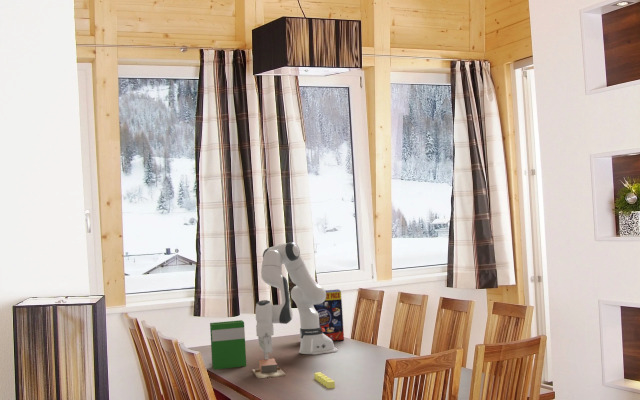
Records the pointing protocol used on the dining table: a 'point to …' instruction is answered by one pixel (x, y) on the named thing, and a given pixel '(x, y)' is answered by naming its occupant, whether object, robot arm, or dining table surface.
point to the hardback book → (228, 344)
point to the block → (267, 365)
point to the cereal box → (331, 315)
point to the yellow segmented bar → (324, 380)
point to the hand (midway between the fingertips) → (266, 358)
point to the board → (265, 375)
